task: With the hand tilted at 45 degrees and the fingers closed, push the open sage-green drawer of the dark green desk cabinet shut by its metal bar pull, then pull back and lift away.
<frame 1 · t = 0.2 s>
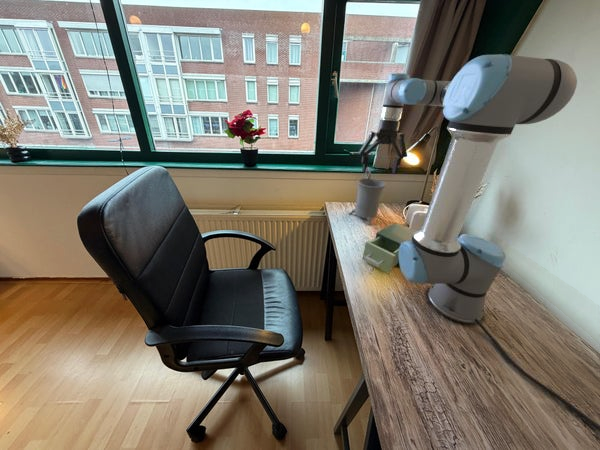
hand: (378, 172, 107), 28 cm above the table, tool pointing down, fingers open, 13 cm apart
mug: (364, 217, 132), on the table
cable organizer: (421, 231, 121), on the table
cabinet: (394, 253, 102), on the table
drawer: (383, 253, 93), point 5 cm above the table, slide at 7.0 cm
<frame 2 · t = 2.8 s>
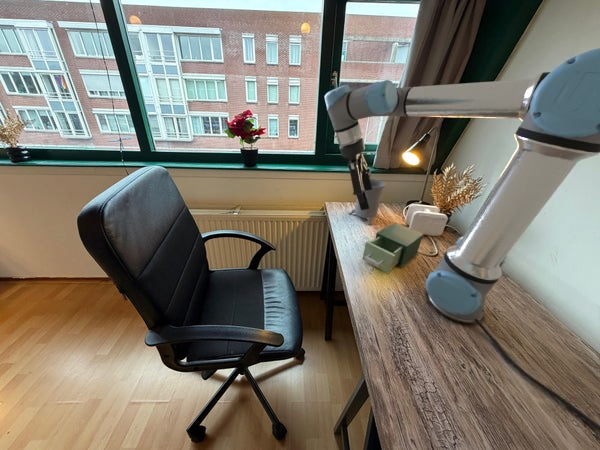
hand: (367, 198, 87), 25 cm above the table, tool tilted 25°, fingers open, 13 cm apart
nothing on the table moved.
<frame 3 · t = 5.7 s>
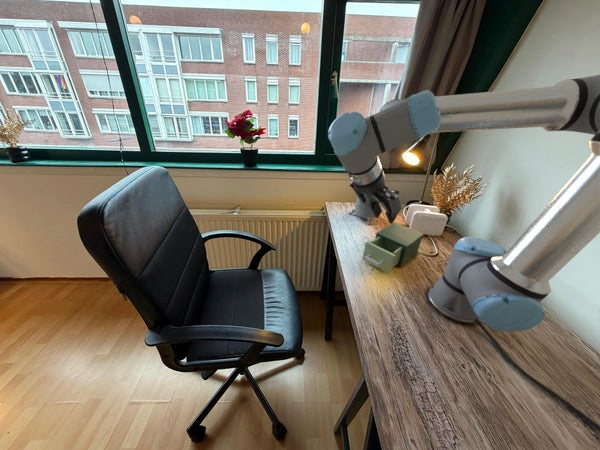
hand: (385, 217, 76), 24 cm above the table, tool tilted 45°, fingers open, 4 cm apart
nothing on the table moved.
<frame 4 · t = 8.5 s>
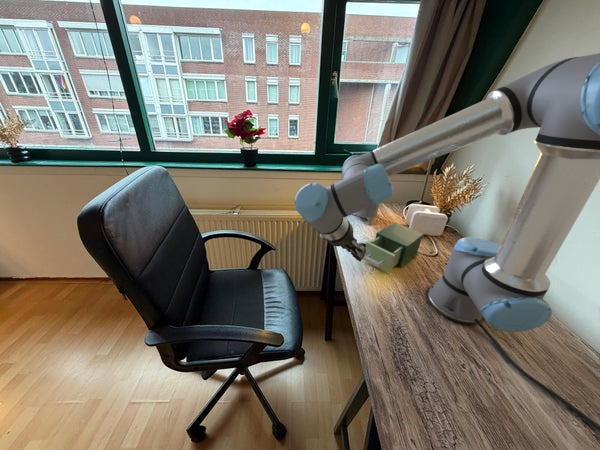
hand: (360, 257, 80), 10 cm above the table, tool tilted 45°, fingers closed
nothing on the table moved.
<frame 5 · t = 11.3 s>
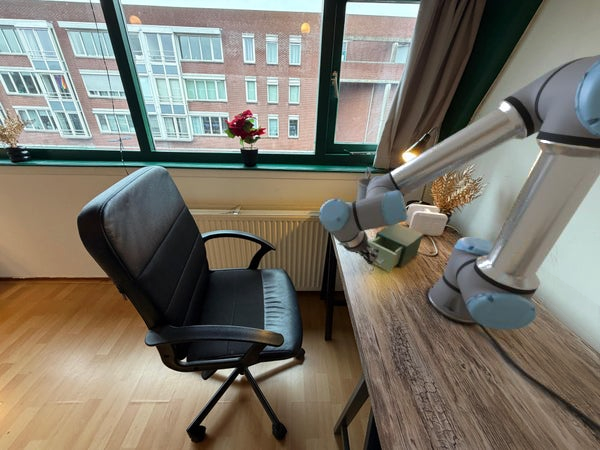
hand: (371, 260, 88), 5 cm above the table, tool tilted 45°, fingers closed
drawer: (385, 252, 93), point 5 cm above the table, slide at 5.9 cm, touching gripper
everything else where it was.
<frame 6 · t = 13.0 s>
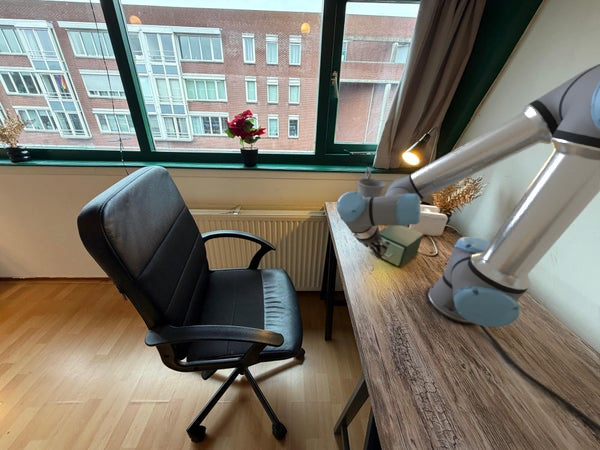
hand: (380, 254, 91), 5 cm above the table, tool tilted 45°, fingers closed
drawer: (392, 246, 97), point 5 cm above the table, slide at 0.0 cm, touching cabinet, gripper
everything else where it was.
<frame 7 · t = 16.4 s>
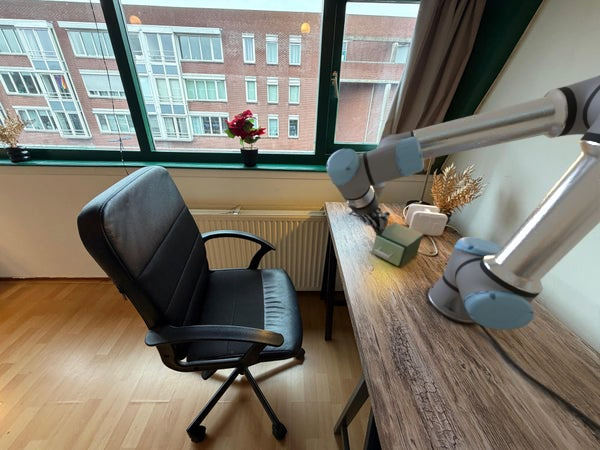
hand: (380, 231, 83), 17 cm above the table, tool tilted 45°, fingers closed
drawer: (392, 246, 97), point 5 cm above the table, slide at 0.0 cm, touching cabinet
everything else where it was.
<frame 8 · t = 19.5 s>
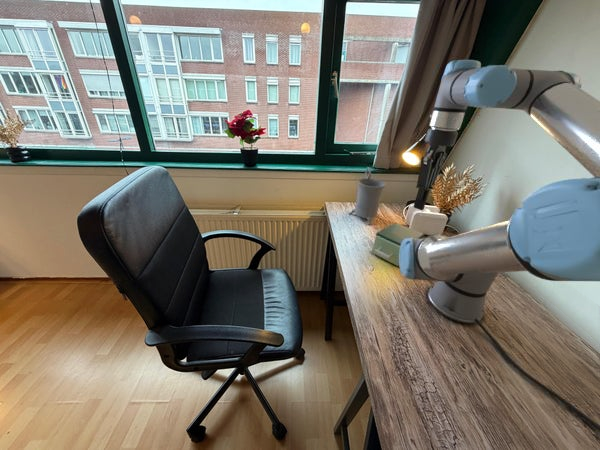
hand: (418, 208, 78), 26 cm above the table, tool pointing down, fingers closed
nothing on the table moved.
at the end: drawer slide at 0.0 cm; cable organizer moved 0.2 cm from its start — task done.
